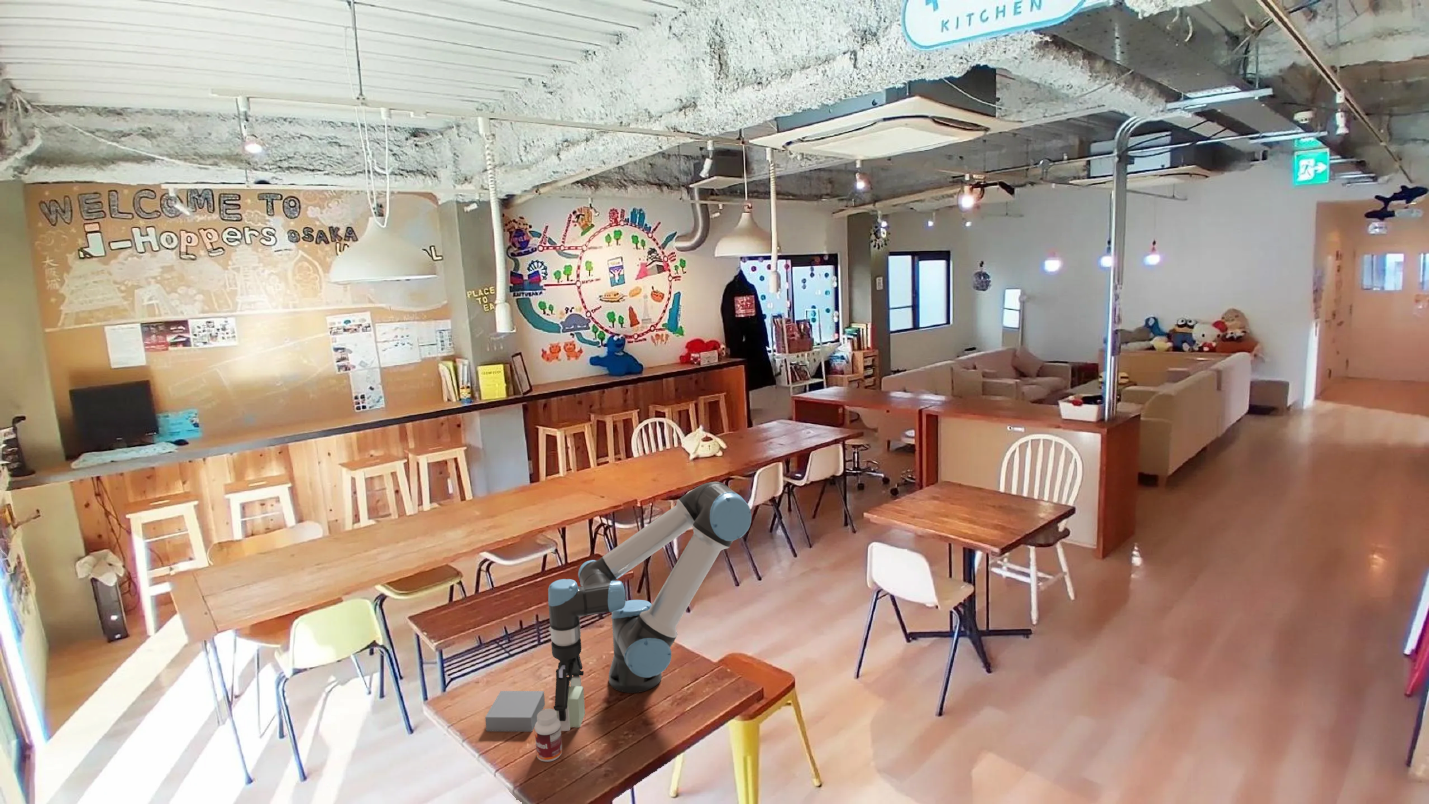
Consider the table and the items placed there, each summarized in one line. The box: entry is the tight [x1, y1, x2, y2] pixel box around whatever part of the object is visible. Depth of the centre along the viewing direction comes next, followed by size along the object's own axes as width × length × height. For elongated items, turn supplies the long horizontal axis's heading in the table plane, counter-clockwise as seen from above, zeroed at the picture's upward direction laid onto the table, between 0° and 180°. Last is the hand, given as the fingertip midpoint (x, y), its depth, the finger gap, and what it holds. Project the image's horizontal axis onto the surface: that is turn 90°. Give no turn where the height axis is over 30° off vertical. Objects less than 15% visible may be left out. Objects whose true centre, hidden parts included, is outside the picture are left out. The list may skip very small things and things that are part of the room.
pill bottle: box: [534, 708, 563, 763], centre depth 180 cm, size 6×6×11 cm
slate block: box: [484, 690, 546, 733], centre depth 196 cm, size 12×12×4 cm
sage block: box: [556, 685, 586, 728], centre depth 194 cm, size 6×6×8 cm
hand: (570, 714), depth 194 cm, fingers open, 13 cm apart
